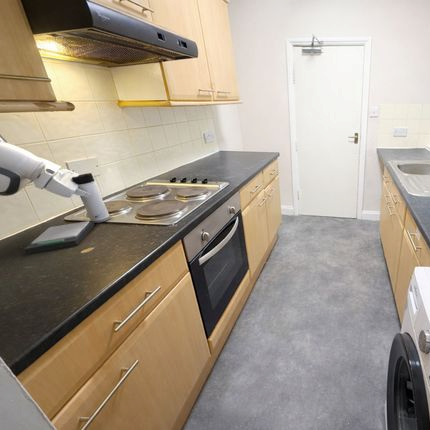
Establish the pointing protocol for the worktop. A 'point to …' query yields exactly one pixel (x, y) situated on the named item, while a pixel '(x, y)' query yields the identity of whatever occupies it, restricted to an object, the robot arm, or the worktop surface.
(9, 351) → the worktop surface
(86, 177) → the travel mug
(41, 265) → the worktop surface
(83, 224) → the kitchen scale
